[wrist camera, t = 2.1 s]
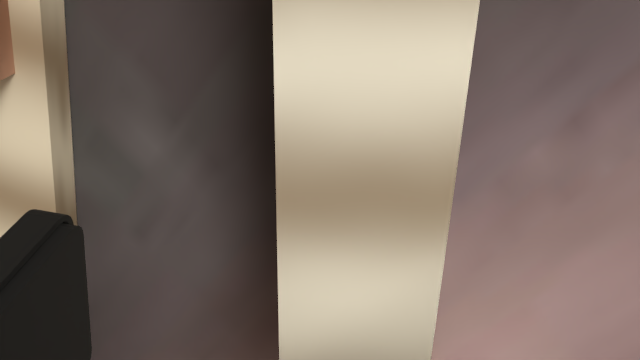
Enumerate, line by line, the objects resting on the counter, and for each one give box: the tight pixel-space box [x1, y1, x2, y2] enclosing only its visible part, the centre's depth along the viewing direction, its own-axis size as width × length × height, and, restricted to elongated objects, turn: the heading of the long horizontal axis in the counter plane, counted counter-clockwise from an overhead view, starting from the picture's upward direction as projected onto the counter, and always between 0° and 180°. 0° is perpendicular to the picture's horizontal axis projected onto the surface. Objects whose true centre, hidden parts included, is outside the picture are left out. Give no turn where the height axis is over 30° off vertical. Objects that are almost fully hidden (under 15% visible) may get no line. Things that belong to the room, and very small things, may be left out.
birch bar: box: [272, 0, 480, 360], centre depth 18 cm, size 22×4×6 cm, turn 179°
